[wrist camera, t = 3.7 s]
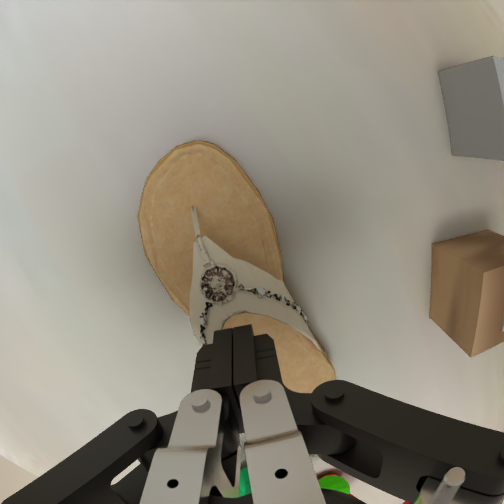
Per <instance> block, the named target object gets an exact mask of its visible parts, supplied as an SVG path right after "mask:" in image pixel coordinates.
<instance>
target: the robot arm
mask: <svg viewBox="0 0 504 504" xmlns="http://www.w3.org/2000/svg"><path fill="white" fill-rule="evenodd" d="M239 433H245V437H246V443H245V444H244V447H245V454H246V461H247V467H248V473H249V479H250V485H251V491H252V493H250V494H247V495H244V496H240V497H239V480H240V463H241V447H240V445H239V443H240V439H239ZM309 454H318V456H319V457H320V458H321V459H322V460H323V461H325V462H327V463H329V464H330V465H332V466H334V467H336V468H338V469H340V470H342V471H344V472H345V473H347V474H349V475H351V476H353V477H355V478H357V479H359V480H361V481H363V482H365V483H367V484H370V485H372V486H374V487H376V488H378V489H380V490H382V491H385V492H387V493H389V494H391V495H393V496H396V497H398V498H400V499H403V500H405V501H408V502H410V503H412V504H502V502H503V500H504V433H503V432H499V431H495V430H491V429H488V428H484V427H480V426H477V425H473V424H470V423H466V422H463V421H460V420H456V419H453V418H450V417H446V416H443V415H440V414H437V413H434V412H431V411H428V410H425V409H422V408H419V407H416V406H413V405H410V404H407V403H404V402H401V401H398V400H395V399H393V398H390V397H387V396H384V395H382V394H379V393H376V392H373V391H371V390H368V389H365V388H363V387H360V386H358V385H355V384H353V383H350V382H347V381H344V380H331V381H327V382H324V383H322V384H320V385H319V386H317V387H316V388H315V389H314V390H313V392H312V393H299V392H295V391H292V390H290V389H288V388H287V387H286V386H285V385H284V384H283V381H282V377H281V372H280V368H279V363H278V358H277V353H276V349H275V344H274V339H272V338H271V337H270V336H269V335H268V334H262V335H256V336H254V332H253V328H252V324H248V325H243V326H238V327H233V328H227V329H222V330H216V331H214V335H213V344H207V345H203V346H202V348H201V349H200V350H199V351H198V353H197V357H196V363H195V370H194V376H193V382H192V389H191V393H190V394H188V395H187V396H185V397H184V398H183V399H182V401H181V403H180V406H179V409H178V411H176V412H174V413H171V414H168V415H165V416H162V417H159V418H157V416H156V415H155V413H154V412H152V411H150V410H147V409H138V410H134V411H131V412H129V413H128V414H126V415H125V416H123V417H122V418H121V419H119V420H118V421H117V422H115V423H114V424H113V425H111V426H110V427H109V428H107V429H106V430H105V431H103V432H102V433H101V434H99V435H98V436H97V437H95V438H94V439H92V440H91V441H90V442H88V443H87V444H86V445H84V446H83V447H81V448H80V449H79V450H77V451H76V452H74V453H73V454H72V455H70V456H69V457H67V458H66V459H65V460H63V461H62V462H60V463H59V464H57V465H56V466H55V467H53V468H52V469H50V470H49V471H47V472H46V473H44V474H43V475H42V476H40V477H39V478H37V479H36V480H34V481H33V482H32V483H30V484H28V485H27V486H25V487H24V488H23V489H21V490H19V491H18V492H16V493H15V494H13V495H12V496H10V497H9V498H7V499H5V500H4V501H3V502H2V504H366V503H364V502H362V501H361V500H359V499H357V498H355V497H353V496H351V495H349V494H346V493H344V492H340V491H337V490H332V489H325V488H320V485H319V482H318V479H317V477H316V474H315V471H314V468H313V465H312V462H311V460H310V457H309ZM137 459H138V460H139V462H140V463H141V464H140V465H138V466H137V467H136V468H135V469H133V470H132V471H131V472H130V473H129V474H127V475H126V476H125V477H124V478H122V479H121V480H120V481H119V482H117V483H116V484H114V485H111V481H112V480H113V478H115V477H116V476H117V475H118V474H120V473H121V472H122V471H123V470H125V469H126V468H127V467H128V466H129V465H131V464H132V463H133V462H134V461H136V460H137Z"/></svg>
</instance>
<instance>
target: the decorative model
mask: <svg viewBox="0 0 504 504" xmlns="http://www.w3.org/2000/svg"><path fill="white" fill-rule="evenodd" d="M318 482H319V485H320V488H325V489H332V490H337V491H340V492H344V493H346V494H349V495H351V494H350V487H349V485H348V482H347V481H346V480H345V479H344V478H342V477H341V476H339V475H336V474H327V475H324V476H323V477H321V478H320V479H319V480H318ZM250 493H252V491H251V485H250V479H249V473H248V467H244V468H243V469H242V470H240V480H239V497H240V496H244V495H247V494H250ZM351 496H353V495H351ZM353 497H354V496H353ZM355 498H356V497H355Z"/></svg>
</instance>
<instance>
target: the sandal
mask: <svg viewBox="0 0 504 504" xmlns="http://www.w3.org/2000/svg"><path fill="white" fill-rule="evenodd" d="M138 222H139V227H140V232H141V237H142V242H143V247H144V251H145V255H146V257H147V259H148V260H149V262H150V264H151V266H152V267H153V269H154V271H155V272H156V274H157V276H158V277H159V279H160V281H161V282H162V284H163V286H164V287H165V289H166V290H167V292H168V294H169V295H170V297H171V299H172V300H173V301H174V302H175V303H176V304H177V305H178V306H179V307H180V308H181V309H182V310H183V311H184V312H185V313H186V314H187V315H188V316H189V317H190V320H191V324H192V328H193V331H194V335H195V336H196V338H197V339H198V340H199V342H200V343H201V345H202V346H203V345H207V344H213V335H214V331H216V330H222V329H227V328H233V327H238V326H243V325H248V324H252V328H253V332H254V336H256V335H262V334H268V335H269V336H270V337H271V338H272V339H274V344H275V349H276V353H277V358H278V363H279V368H280V372H281V377H282V381H283V384H284V385H285V386H286V387H287V388H288V389H290V390H292V391H295V392H299V393H312V392H313V390H314V389H315V388H316V387H317V386H319V385H320V384H322V383H324V382H327V381H331V380H336V374H335V370H334V367H333V365H332V363H331V362H330V360H329V358H328V356H327V355H326V353H325V351H324V350H323V348H322V347H321V345H320V344H319V342H318V341H317V340H316V338H315V337H314V335H313V334H312V333H311V331H310V329H309V328H308V326H307V324H308V321H307V318H308V317H307V316H306V315H305V314H304V312H302V310H301V308H300V307H299V306H298V305H297V304H295V302H294V301H293V299H292V297H291V295H290V293H289V292H288V290H287V288H286V286H285V285H284V279H283V269H282V259H281V251H280V247H279V243H278V239H277V235H276V231H275V226H274V222H273V219H272V217H271V215H270V213H269V211H268V209H267V207H266V205H265V203H264V201H263V199H262V197H261V195H260V193H259V192H258V190H257V189H256V187H255V186H254V185H253V183H252V182H251V181H250V179H249V178H248V177H247V175H246V174H245V173H244V171H243V170H242V169H241V167H240V166H239V165H238V163H237V162H236V161H235V160H234V159H233V158H232V157H231V156H229V155H228V154H226V153H225V152H224V151H222V150H221V149H219V148H218V147H217V146H215V145H214V144H212V143H208V142H203V141H193V142H190V143H186V144H183V145H180V146H177V147H175V148H174V149H173V150H172V151H171V152H169V153H168V154H167V155H166V156H165V157H163V158H162V159H161V160H160V161H159V162H158V163H157V165H156V166H155V167H154V169H153V170H152V172H151V173H150V174H149V176H148V177H147V180H146V183H145V186H144V189H143V193H142V197H141V202H140V207H139V212H138Z"/></svg>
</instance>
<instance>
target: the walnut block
mask: <svg viewBox="0 0 504 504" xmlns="http://www.w3.org/2000/svg"><path fill="white" fill-rule="evenodd" d="M429 317H430V318H431V319H432V320H433V321H434V322H435V323H436V324H437V325H438V326H439V327H440V328H441V329H442V330H443V331H444V332H445V333H446V334H447V335H448V336H449V337H450V338H451V339H452V340H453V341H454V342H455V343H456V344H457V345H458V346H459V347H461V348H462V349H463V350H464V351H465V353H466V354H467V355H468V356H469V357H470V358H471V357H473V356H475V355H477V354H479V353H481V352H483V351H485V350H488V349H490V348H492V347H494V346H495V345H497V344H499V343H501V342H503V341H504V236H502V235H500V234H497V233H495V232H492V231H490V230H485V231H481V232H477V233H473V234H469V235H465V236H461V237H457V238H453V239H449V240H445V241H441V242H437V243H433V244H432V272H431V297H430V312H429Z"/></svg>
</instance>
